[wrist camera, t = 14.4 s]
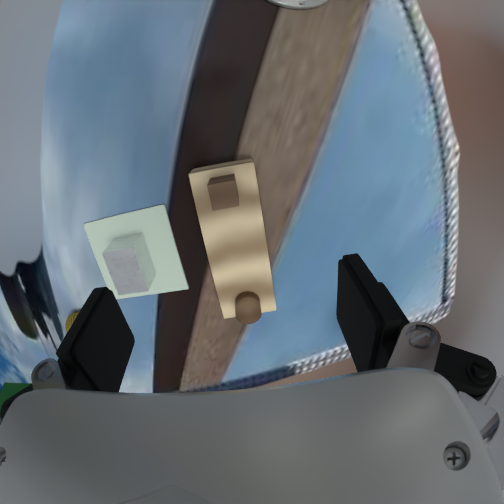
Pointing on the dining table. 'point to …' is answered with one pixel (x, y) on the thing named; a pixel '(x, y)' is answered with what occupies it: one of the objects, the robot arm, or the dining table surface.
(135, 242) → the grey block
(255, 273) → the hand plane
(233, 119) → the dining table surface
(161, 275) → the mat
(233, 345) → the dining table surface
